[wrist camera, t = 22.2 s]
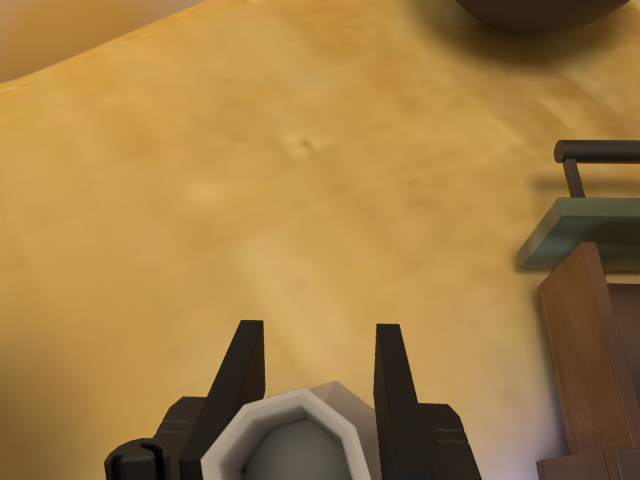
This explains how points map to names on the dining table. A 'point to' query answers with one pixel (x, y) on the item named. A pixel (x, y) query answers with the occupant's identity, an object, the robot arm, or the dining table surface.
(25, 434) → the dining table surface
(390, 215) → the dining table surface
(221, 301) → the dining table surface
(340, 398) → the flask
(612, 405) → the drawer
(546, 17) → the coal bowl
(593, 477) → the cabinet
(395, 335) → the robot arm
